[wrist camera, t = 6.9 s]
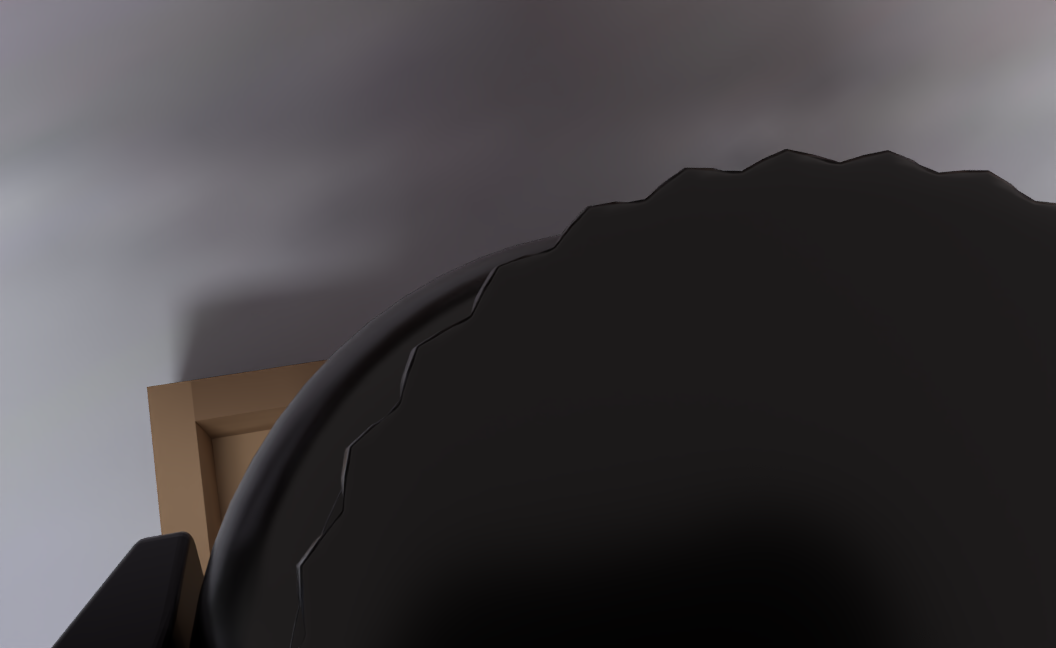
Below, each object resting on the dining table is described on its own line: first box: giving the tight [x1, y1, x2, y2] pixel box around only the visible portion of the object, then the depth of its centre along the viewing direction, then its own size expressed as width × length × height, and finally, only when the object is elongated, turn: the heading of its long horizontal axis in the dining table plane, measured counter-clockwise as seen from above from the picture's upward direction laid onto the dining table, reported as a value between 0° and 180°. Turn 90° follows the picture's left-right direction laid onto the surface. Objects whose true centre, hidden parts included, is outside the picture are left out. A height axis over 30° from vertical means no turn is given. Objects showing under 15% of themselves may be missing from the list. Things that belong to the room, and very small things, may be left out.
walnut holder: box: [147, 360, 327, 575], centre depth 20 cm, size 11×11×2 cm
